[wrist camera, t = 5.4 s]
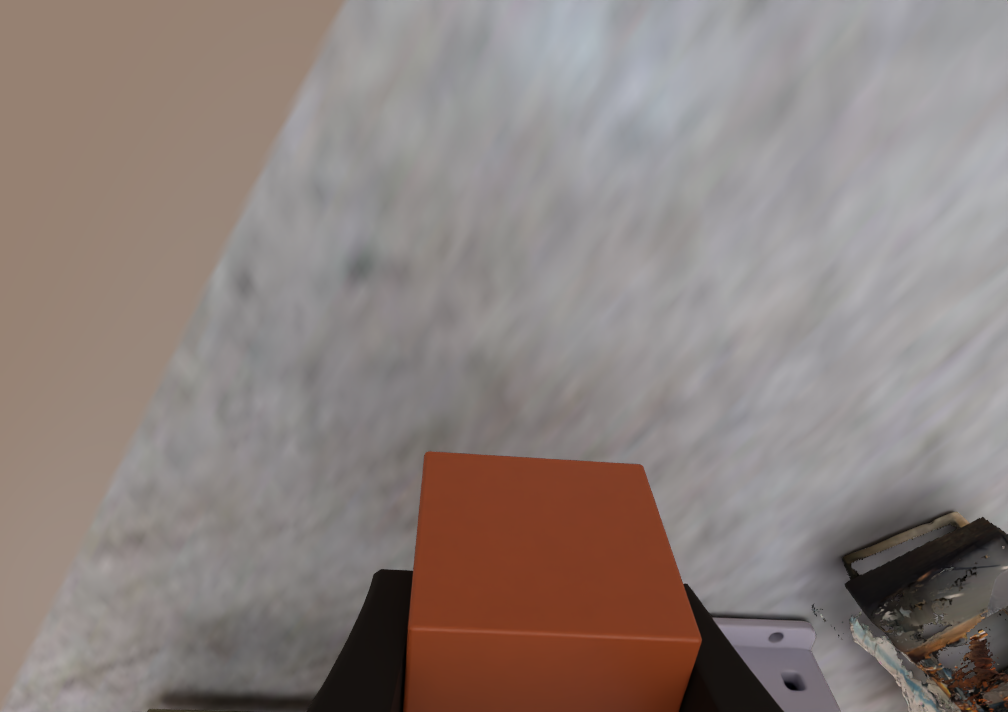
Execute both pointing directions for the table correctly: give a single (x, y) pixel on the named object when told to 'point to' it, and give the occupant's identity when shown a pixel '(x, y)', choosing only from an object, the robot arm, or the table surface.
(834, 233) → the table surface
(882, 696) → the table surface
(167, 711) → the drawer
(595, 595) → the block
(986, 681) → the multicoloured irregular model
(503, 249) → the table surface
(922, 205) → the table surface
